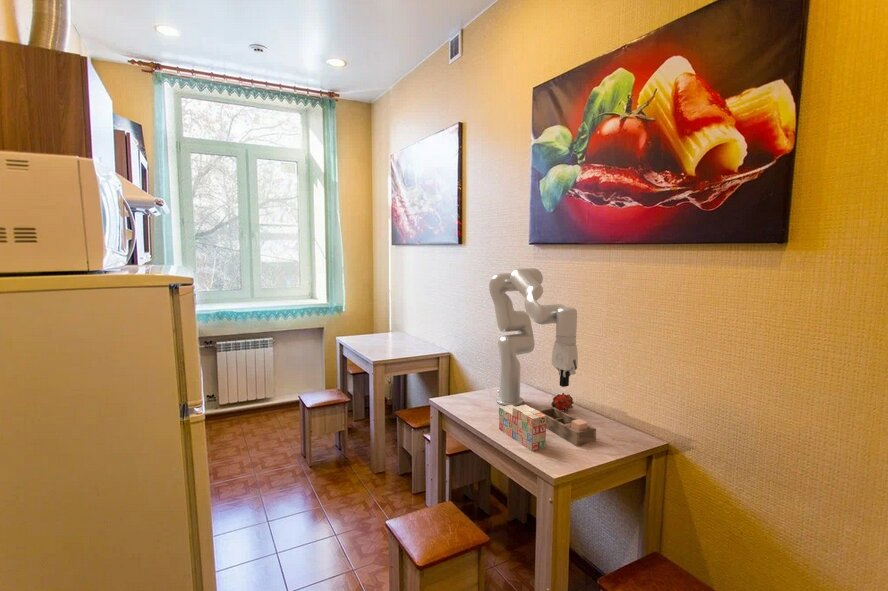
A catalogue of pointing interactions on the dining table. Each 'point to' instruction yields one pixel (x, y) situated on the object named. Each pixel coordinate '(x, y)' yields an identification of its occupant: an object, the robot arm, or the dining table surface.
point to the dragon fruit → (562, 402)
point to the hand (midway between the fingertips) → (564, 385)
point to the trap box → (567, 427)
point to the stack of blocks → (524, 425)
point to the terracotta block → (579, 425)
